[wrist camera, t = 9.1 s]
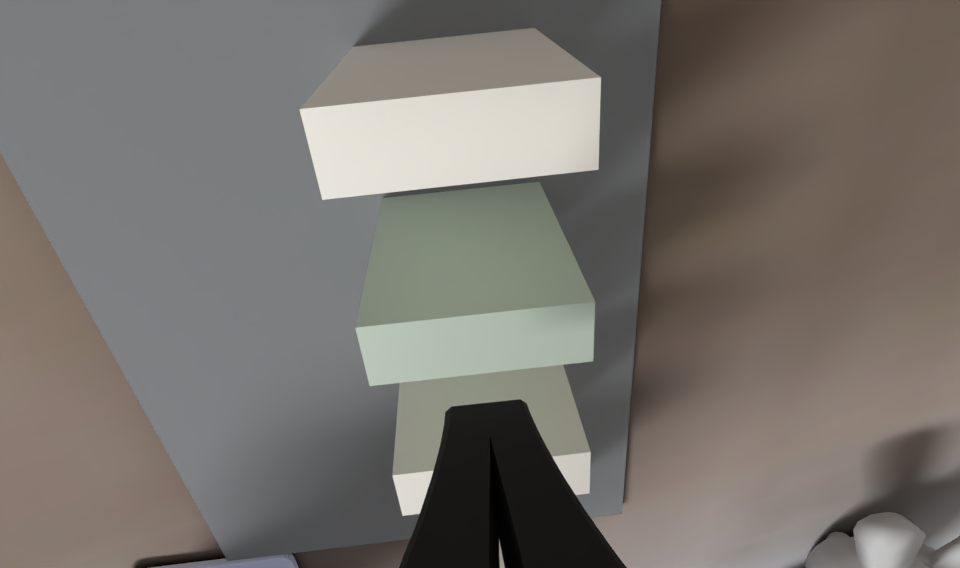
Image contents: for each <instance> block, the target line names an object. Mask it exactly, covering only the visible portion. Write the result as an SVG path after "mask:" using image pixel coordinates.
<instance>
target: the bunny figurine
mask: <svg viewBox="0 0 960 568" xmlns="http://www.w3.org/2000/svg"><path fill="white" fill-rule="evenodd" d="M853 532H854V537H849V536H848V535H846V534H845V533H842V532H833V533H830V534H829V535H828V536H827V538H826V539H825V540H824V541H822V542H821V543H819V544H818V545H817V546H816V547H815V548H814V549H813V550H812V551H811V552H810V553H809V555H808V557H807V559H806V562H805V568H960V536H959V537H958V538H956V539H954V540H953V541H951V542H949V543H948V544H946V545H944V546H943V547H941V548H939V549H938V550H934V549H932V548H930V547H928V546H927V545H925V544H923V542H924V540H925V538H926V534H925V532H923V531H922V530H921V529H919V528H918V527H917V526H916V525H914V524H913V523H912V522H910V521H909V520H908V519H907V518H905V517H904V516H902V515H900V514H897V513H892V512H883V513H877V514H871V515H869V516H867V517H865V518H863V519H861V520H860V521H858V522H857V524H856V526H855V527H854V529H853Z"/></svg>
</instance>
